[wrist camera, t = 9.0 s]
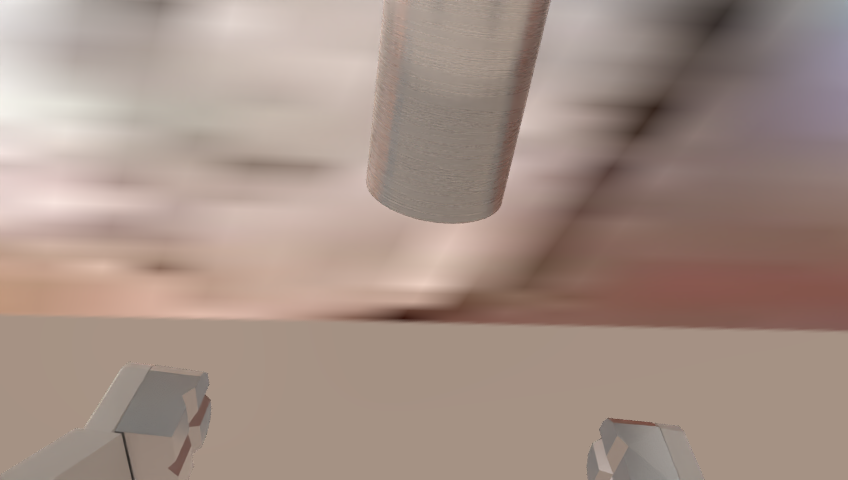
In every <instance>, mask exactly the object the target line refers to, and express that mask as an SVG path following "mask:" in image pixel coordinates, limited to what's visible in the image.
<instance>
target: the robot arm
mask: <svg viewBox="0 0 848 480" xmlns="http://www.w3.org/2000/svg"><path fill="white" fill-rule="evenodd" d="M208 386H209V379H208V373H206V372H200V371H193V370H187V369H180V368H173V367H165V366H159V365H150V364H142V363H134V362H128V363H127V364H126V365H125V366H123V367H122V368H121V370H120V371H119V373H118V375H117V376H116V378H115V379H114V381H113V382H112V384H111V386H110V387H109V389H108V390H107V392H106V394H105V395H104V397H103V398H102V400H101V402H100V403H99V405H98V406H97V408H96V410H95V411H94V413H93V414H92V416H91V418H90V419H89V421H88V422H87V424H86V425H85V427H84V429H78V428H77V429H76V428H75V429H73V430H72V431H70V432H68V433H67V434H65V435H64V436H62V437H60V438H59V439H57V440H56V441H54V442H52V443H51V444H49V445H47V446H46V447H44V448H43V449H41V450H39V451H38V452H36V453H35V454H33V455H31V456H30V457H28V458H26V459H25V460H23V461H22V462H20V463H18V464H17V465H15V466H13V467H12V468H10V469H9V470H7V471H5V472H4V473H2V474H1V475H0V480H189V477H190V475H191V472H192V470H193V468H194V464H193V455H192V454H193V453H194V452H196V450H198V449H200V448H201V447H202V445H203V443H204V440H205V438H206V435H207V431H208V427H209V423H210V418H211V400H210V399H209V398H208V397H207V396H206V395H205V393H206V391H207V389H208ZM599 431H600V434H601V438H600V439H599V440H597V441H595V442H594V443H592V446H591V448H590V451H589V453H588V459H587V476H588V480H705V479H704V477H703V474H702V472H701V470H700V467H699V465H698V463H697V461H696V458H695V456H694V454H693V451H692V449H691V447H690V445H689V442H688V440H687V437H686V435H685V433H684V430H683V429H681V427H680V426H675V425H666V424H657V423H652V422H642V421H632V420H623V419H613V418H607V419H606V420H605V421H603V423H602V425H601V427H600V429H599Z"/></svg>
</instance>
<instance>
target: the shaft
mask: <svg viewBox="0 0 848 480" xmlns="http://www.w3.org/2000/svg"><path fill="white" fill-rule="evenodd" d="M550 2H551V0H384V5H383V15H382V26H381V36H380V46H379V56H378V67H377V77H376V87H375V98H374V108H373V118H372V128H371V139H370V149H369V159H368V169H367V180H366V184H367V188H368V190H369V192H370V193H371V194H372V196H373V197H374V198H375V199H376V200H377V201H379V202H380V203H381V204H383V205H384V206H386V207H388V208H389V209H391V210H393V211H396V212H398V213H400V214H403V215H405V216H409V217H412V218H415V219H419V220H424V221H429V222H436V223H451V224H456V223H468V222H474V221H479V220H482V219H485V218H487V217H489V216H491V215H493V214H494V213H495V212H496V211H497V210H498V209H499V208H500V206H501V204H502V199H503V195H504V191H505V187H506V183H507V179H508V175H509V171H510V166H511V162H512V158H513V154H514V150H515V146H516V142H517V138H518V133H519V129H520V125H521V121H522V117H523V113H524V109H525V105H526V100H527V96H528V92H529V88H530V84H531V80H532V76H533V72H534V68H535V63H536V59H537V55H538V51H539V47H540V43H541V39H542V35H543V30H544V26H545V22H546V18H547V14H548V10H549V6H550Z"/></svg>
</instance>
